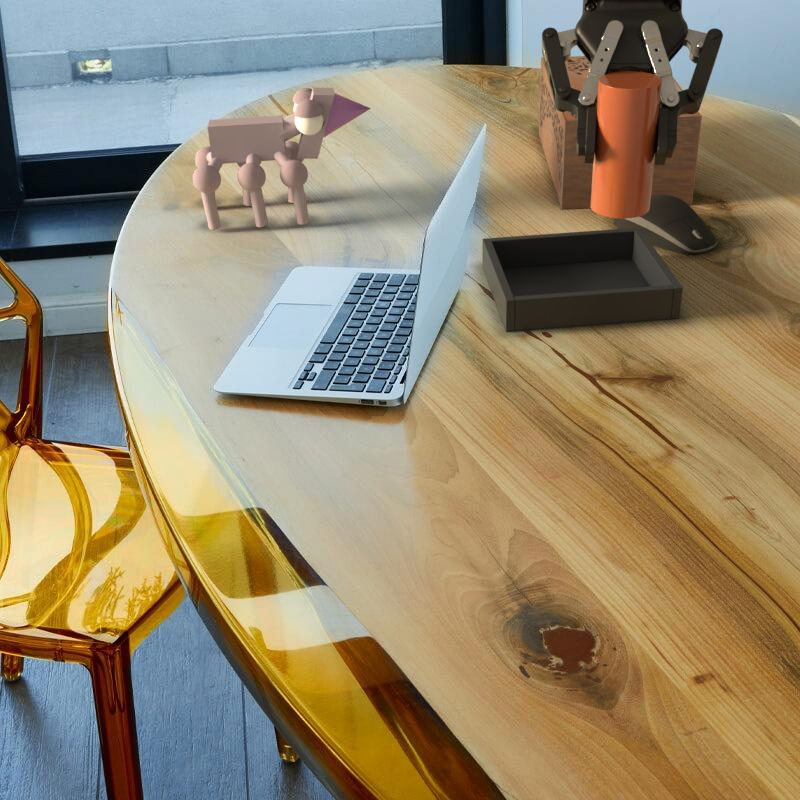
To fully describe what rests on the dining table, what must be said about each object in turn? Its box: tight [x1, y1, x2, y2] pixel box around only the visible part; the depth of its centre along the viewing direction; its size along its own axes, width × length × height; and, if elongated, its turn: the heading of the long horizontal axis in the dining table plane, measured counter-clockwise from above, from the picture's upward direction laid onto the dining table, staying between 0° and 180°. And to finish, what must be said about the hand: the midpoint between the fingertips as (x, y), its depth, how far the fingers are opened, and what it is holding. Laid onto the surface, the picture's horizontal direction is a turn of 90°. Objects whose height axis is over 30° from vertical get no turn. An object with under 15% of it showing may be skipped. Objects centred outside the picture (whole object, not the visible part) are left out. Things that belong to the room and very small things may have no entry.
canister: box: [590, 71, 662, 219], centre depth 82 cm, size 5×5×10 cm
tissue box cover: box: [538, 55, 703, 210], centre depth 128 cm, size 26×14×10 cm, turn 179°
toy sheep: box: [192, 87, 372, 231], centre depth 118 cm, size 20×11×14 cm, turn 95°
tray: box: [481, 228, 684, 333], centre depth 100 cm, size 16×14×4 cm
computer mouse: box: [613, 194, 718, 256], centre depth 111 cm, size 7×12×4 cm, turn 32°
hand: (625, 158), depth 81 cm, fingers closed on canister, 4 cm apart
